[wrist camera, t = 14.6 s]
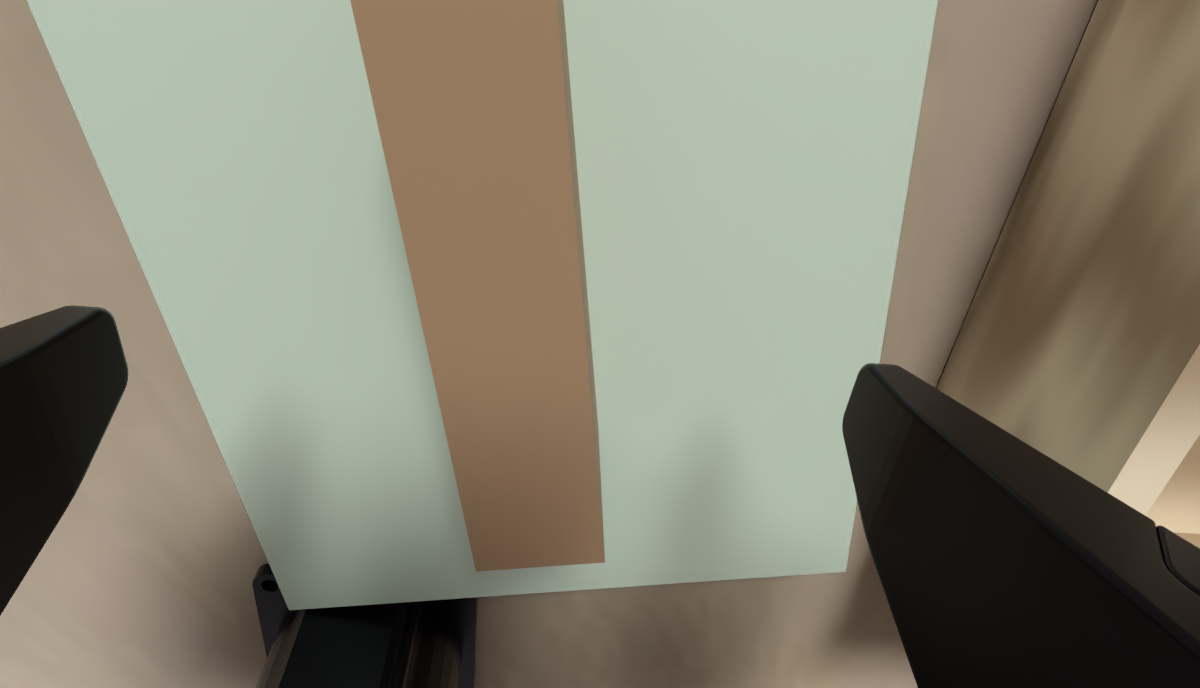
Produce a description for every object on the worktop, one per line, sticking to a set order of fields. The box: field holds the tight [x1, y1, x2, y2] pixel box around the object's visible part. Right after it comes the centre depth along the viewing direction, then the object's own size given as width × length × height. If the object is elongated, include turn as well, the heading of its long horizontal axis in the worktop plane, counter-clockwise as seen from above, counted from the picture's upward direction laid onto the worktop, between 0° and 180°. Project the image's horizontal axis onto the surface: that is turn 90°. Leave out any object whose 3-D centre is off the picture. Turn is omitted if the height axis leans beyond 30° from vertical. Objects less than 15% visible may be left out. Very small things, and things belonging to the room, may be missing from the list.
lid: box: [27, 0, 938, 610], centre depth 14 cm, size 21×15×6 cm
